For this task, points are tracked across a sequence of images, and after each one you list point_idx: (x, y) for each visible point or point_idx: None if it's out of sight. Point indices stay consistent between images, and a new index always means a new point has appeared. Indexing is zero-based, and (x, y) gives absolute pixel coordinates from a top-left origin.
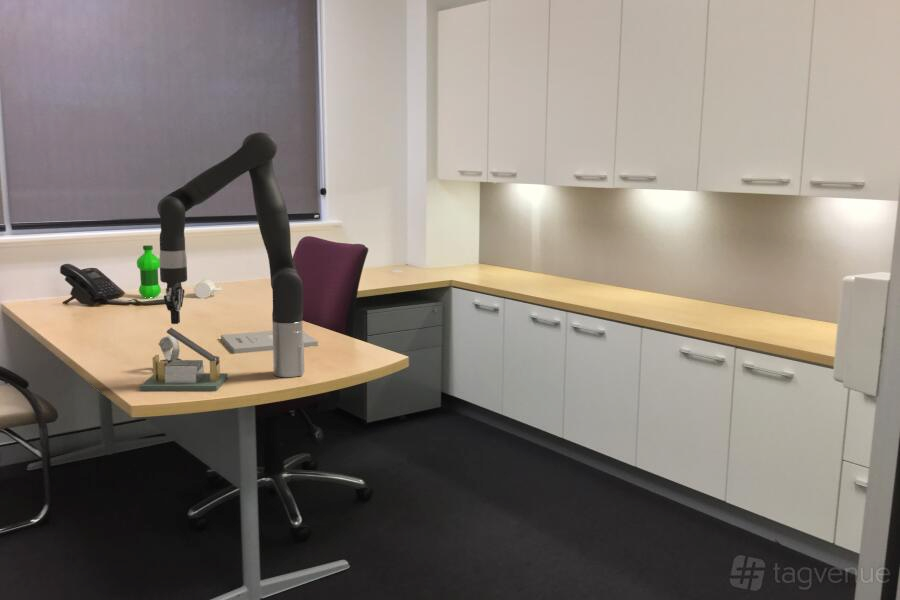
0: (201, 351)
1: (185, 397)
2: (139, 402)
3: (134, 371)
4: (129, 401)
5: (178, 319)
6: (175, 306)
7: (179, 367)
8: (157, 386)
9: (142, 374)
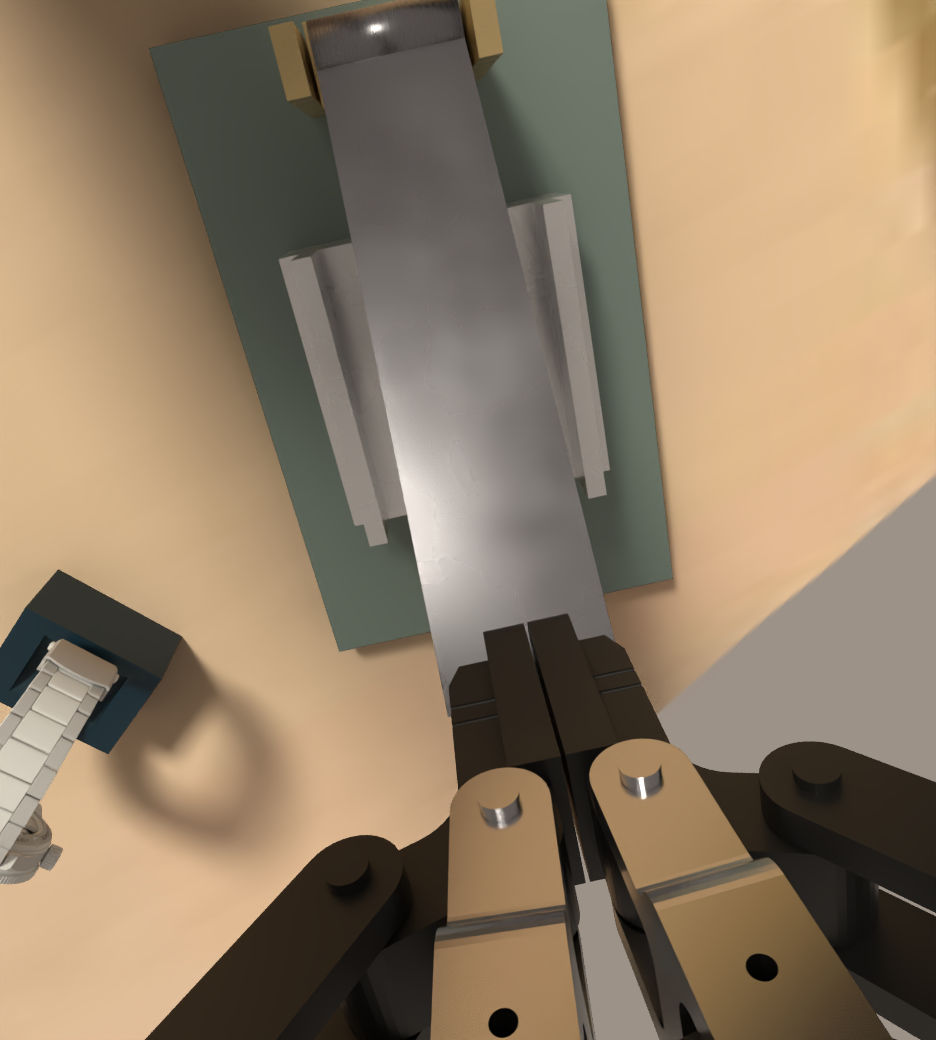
0: (469, 184)
1: (793, 158)
2: (919, 428)
3: (232, 826)
4: (896, 501)
5: (576, 646)
6: (932, 810)
7: (586, 366)
8: (657, 464)
9: (283, 749)
